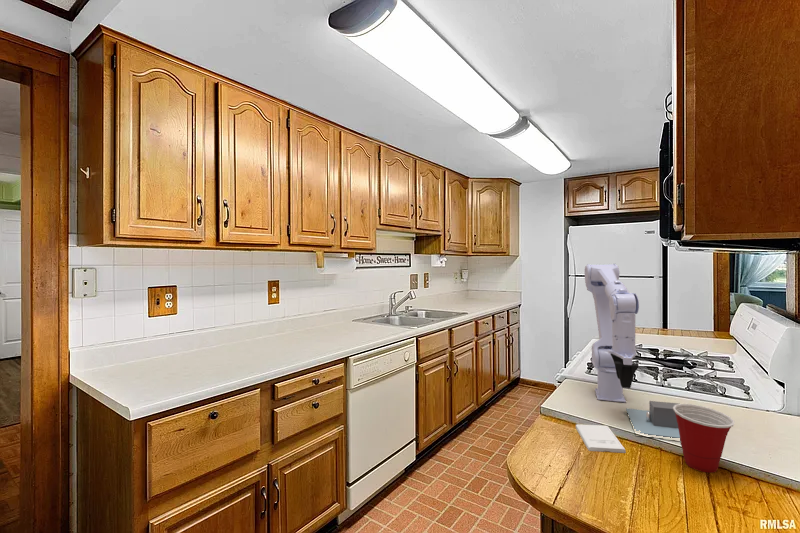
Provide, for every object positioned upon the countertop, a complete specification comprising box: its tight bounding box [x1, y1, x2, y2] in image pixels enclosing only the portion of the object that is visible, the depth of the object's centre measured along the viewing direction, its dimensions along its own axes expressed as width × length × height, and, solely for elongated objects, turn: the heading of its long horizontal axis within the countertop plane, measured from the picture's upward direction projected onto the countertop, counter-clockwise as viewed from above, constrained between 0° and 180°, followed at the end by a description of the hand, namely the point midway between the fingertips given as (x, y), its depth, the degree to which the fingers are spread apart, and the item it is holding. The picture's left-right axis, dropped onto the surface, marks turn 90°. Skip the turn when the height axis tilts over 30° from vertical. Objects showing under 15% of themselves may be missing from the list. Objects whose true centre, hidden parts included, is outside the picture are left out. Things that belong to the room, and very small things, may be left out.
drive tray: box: [625, 407, 680, 438], centre depth 106 cm, size 16×18×4 cm
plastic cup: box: [673, 403, 735, 474], centre depth 88 cm, size 11×11×12 cm
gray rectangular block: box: [648, 400, 681, 428], centre depth 106 cm, size 4×7×5 cm, turn 70°
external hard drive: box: [575, 423, 627, 454], centre depth 101 cm, size 2×8×12 cm
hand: (623, 383), depth 114 cm, fingers open, 7 cm apart
